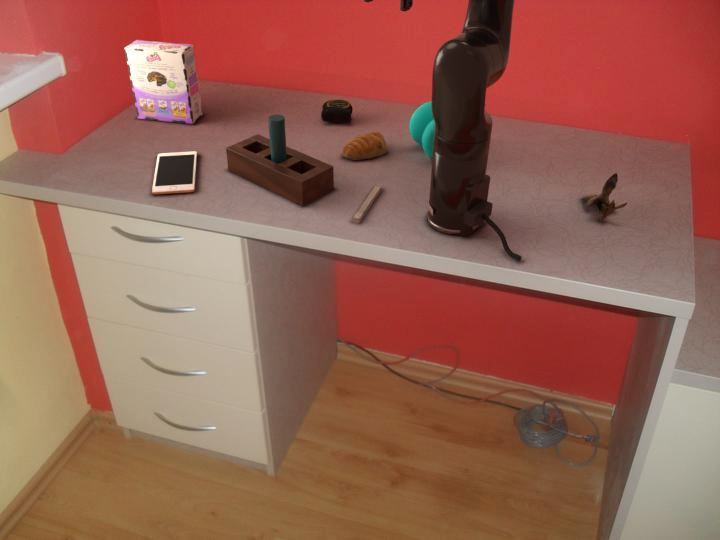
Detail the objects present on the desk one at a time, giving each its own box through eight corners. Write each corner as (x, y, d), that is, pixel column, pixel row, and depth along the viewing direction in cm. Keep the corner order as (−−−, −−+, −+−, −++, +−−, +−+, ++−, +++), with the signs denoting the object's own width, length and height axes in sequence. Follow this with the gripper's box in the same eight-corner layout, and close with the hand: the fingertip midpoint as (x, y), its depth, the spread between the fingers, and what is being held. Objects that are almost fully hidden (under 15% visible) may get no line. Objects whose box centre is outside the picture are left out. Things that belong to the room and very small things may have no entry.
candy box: (203, 114, 162) (194, 43, 152) (193, 125, 157) (183, 52, 147) (148, 108, 164) (136, 38, 154) (136, 118, 159) (122, 46, 150)
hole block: (259, 156, 145) (257, 133, 142) (333, 189, 134) (333, 166, 131) (228, 170, 140) (225, 147, 137) (303, 206, 129) (301, 182, 126)
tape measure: (320, 125, 158) (320, 109, 155) (324, 113, 163) (324, 97, 161) (350, 126, 157) (350, 111, 155) (354, 114, 163) (354, 99, 160)
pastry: (355, 166, 142) (355, 148, 140) (335, 154, 146) (334, 137, 144) (390, 153, 147) (390, 136, 145) (369, 142, 151) (370, 125, 149)
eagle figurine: (635, 218, 125) (624, 185, 131) (621, 191, 120) (611, 159, 127) (592, 234, 128) (584, 201, 134) (578, 208, 124) (571, 176, 130)
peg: (291, 179, 137) (287, 117, 130) (280, 185, 135) (276, 122, 128) (280, 174, 139) (276, 112, 131) (269, 180, 137) (264, 117, 129)
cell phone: (152, 194, 132) (151, 192, 131) (158, 156, 144) (157, 153, 144) (194, 192, 133) (194, 189, 132) (197, 153, 145) (196, 151, 145)
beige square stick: (375, 189, 135) (375, 185, 134) (381, 190, 134) (381, 186, 134) (353, 222, 125) (353, 217, 124) (359, 223, 125) (359, 218, 124)
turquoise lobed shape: (449, 139, 152) (453, 95, 146) (468, 160, 145) (473, 114, 139) (406, 145, 150) (408, 101, 144) (423, 166, 142) (426, 120, 136)
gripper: (343, -95, 121) (344, 2, 130) (410, -85, 113) (405, 18, 123) (371, -100, 125) (370, -6, 135) (437, -91, 118) (430, 9, 127)
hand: (386, 5), depth 129 cm, fingers open, 8 cm apart
